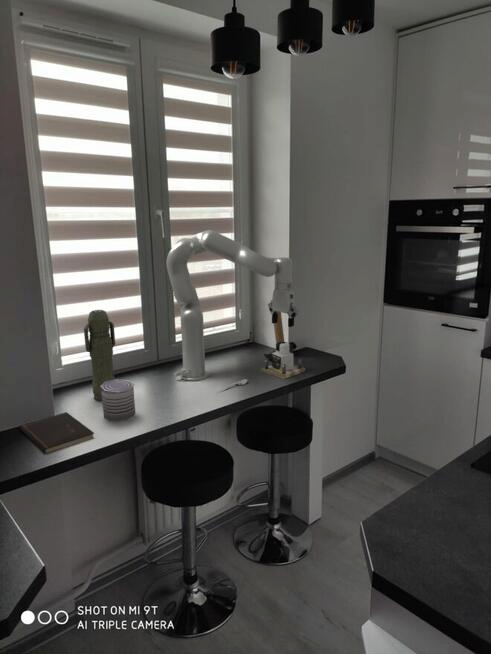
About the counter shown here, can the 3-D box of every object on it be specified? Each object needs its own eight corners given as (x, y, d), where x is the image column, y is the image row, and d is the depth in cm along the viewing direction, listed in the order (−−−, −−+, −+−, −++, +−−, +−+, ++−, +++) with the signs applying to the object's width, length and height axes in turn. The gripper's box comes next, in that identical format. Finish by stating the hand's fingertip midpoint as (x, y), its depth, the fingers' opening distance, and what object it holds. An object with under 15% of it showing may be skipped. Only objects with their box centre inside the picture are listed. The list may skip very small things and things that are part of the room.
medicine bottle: (271, 367, 223) (271, 342, 220) (284, 364, 226) (284, 339, 224) (280, 371, 217) (280, 345, 214) (293, 369, 220) (293, 343, 218)
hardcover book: (67, 417, 178) (66, 411, 177) (94, 439, 161) (94, 432, 160) (21, 431, 167) (20, 425, 167) (45, 455, 151) (44, 448, 150)
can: (126, 406, 186) (124, 376, 183) (141, 415, 177) (139, 384, 174) (98, 415, 178) (95, 384, 175) (112, 424, 170) (109, 392, 167)
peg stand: (284, 378, 212) (284, 366, 211) (261, 371, 222) (261, 360, 221) (305, 371, 222) (305, 359, 220) (282, 364, 232) (282, 353, 230)
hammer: (273, 366, 236) (265, 308, 225) (265, 364, 239) (257, 307, 228) (297, 350, 250) (291, 294, 239) (289, 348, 253) (282, 293, 242)
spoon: (250, 383, 209) (250, 380, 208) (214, 397, 194) (213, 393, 194) (243, 381, 211) (243, 377, 211) (207, 394, 197) (207, 390, 197)
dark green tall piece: (124, 395, 197) (117, 309, 189) (99, 404, 188) (91, 315, 180) (111, 390, 202) (103, 307, 194) (86, 399, 193) (77, 312, 185)
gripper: (304, 287, 209) (303, 326, 213) (274, 283, 221) (274, 320, 225) (292, 289, 204) (291, 329, 208) (262, 285, 216) (262, 323, 220)
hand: (282, 324), depth 217 cm, fingers open, 9 cm apart
